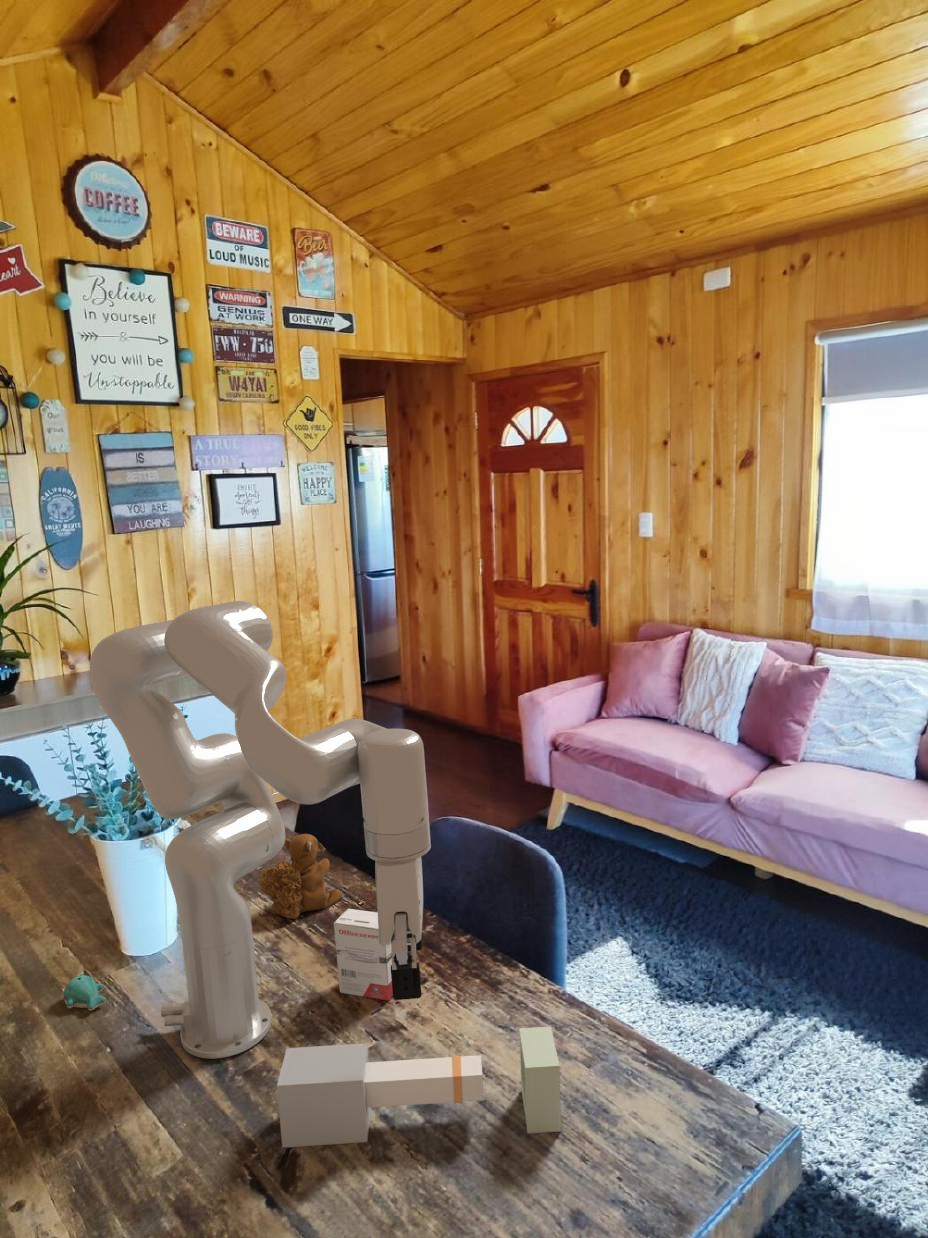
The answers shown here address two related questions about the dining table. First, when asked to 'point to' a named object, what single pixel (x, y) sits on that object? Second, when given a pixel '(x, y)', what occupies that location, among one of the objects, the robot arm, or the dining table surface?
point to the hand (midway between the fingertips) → (408, 972)
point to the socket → (540, 1080)
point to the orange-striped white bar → (423, 1081)
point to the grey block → (323, 1095)
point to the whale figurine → (83, 993)
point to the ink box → (362, 956)
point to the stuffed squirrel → (299, 880)
